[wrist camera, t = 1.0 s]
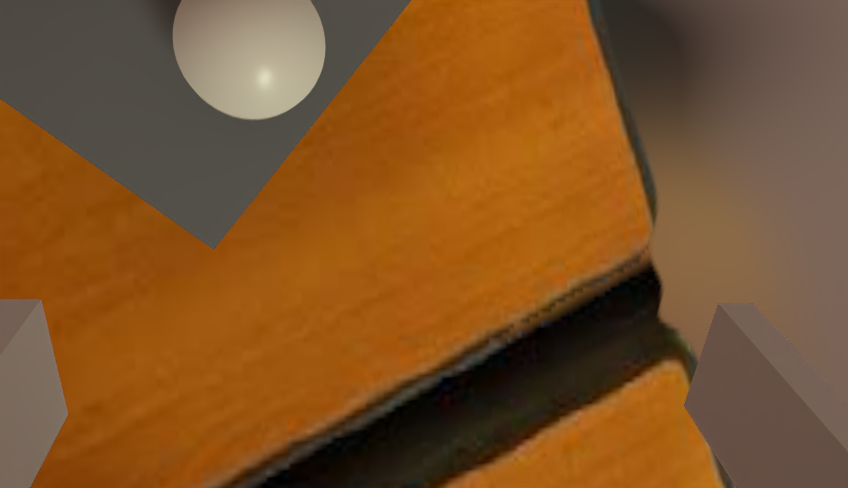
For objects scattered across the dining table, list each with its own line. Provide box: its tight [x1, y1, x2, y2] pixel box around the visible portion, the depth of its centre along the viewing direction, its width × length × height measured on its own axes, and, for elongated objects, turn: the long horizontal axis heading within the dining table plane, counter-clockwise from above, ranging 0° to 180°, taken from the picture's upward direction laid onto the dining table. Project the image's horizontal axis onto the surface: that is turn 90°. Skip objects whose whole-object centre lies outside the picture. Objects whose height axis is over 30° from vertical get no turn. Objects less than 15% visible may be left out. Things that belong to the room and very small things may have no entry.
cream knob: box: [173, 0, 325, 121], centre depth 29 cm, size 6×6×8 cm
